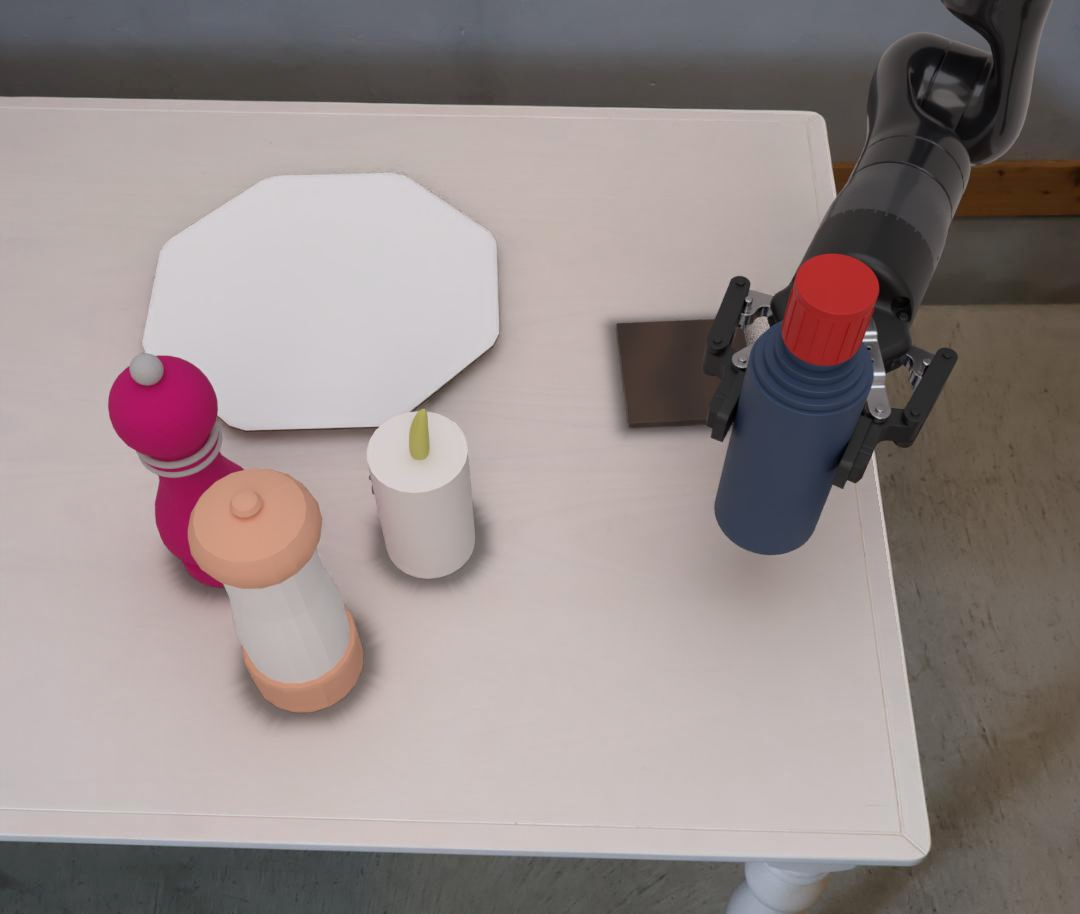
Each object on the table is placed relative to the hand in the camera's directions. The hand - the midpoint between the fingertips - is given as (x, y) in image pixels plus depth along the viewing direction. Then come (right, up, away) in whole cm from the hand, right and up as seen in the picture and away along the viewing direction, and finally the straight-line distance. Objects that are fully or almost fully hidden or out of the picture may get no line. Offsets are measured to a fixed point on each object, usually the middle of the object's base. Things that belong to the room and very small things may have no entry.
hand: (779, 454), depth 60 cm
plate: (-30, +14, +29) cm, 44 cm away
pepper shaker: (-28, -13, +13) cm, 33 cm away
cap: (+1, +5, -5) cm, 8 cm away
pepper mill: (-35, -5, +17) cm, 39 cm away
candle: (-21, -5, +18) cm, 28 cm away
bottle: (+1, -3, +9) cm, 9 cm away
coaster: (-2, +8, +25) cm, 27 cm away
